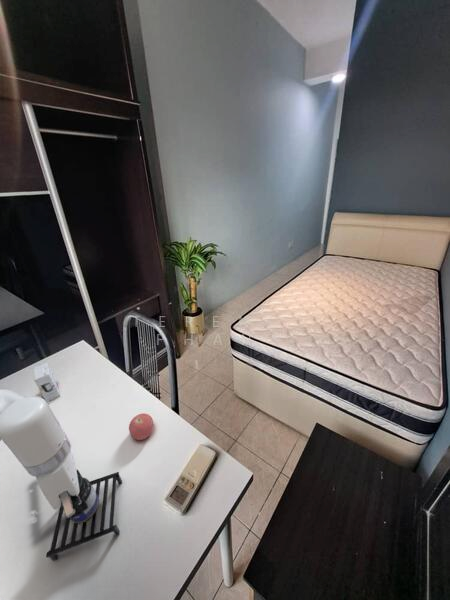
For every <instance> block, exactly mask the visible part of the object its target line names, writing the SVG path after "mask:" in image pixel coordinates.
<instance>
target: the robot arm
mask: <svg viewBox="0 0 450 600" xmlns="http://www.w3.org/2000/svg"><path fill="white" fill-rule="evenodd" d="M1 441H2V442H3V443H4V444H5V445H6V446H7V448H8V449H9V450H10V451H11V453H12V454H13V455H14V456H15V458H16V459H17V461H18V462H19V463H20V464H21V466H22V467H23V468H24V469H25V471H26V472H27V473H28V474H29V475H30V476H31V477H35V479H36V483H37V485H38V487H39V489H40V491H41V493H42V495H43V496H44V498H45V499H46V501H47V502H48V504H49V506H50V507H51V508H52V509H53V510H54V511H57V510H58V509H60V507H61V502H62V504H63V507H64V513H65V516H66V517H67V518H69V517H70V516H71V517H72V518H74V517H76V516H79V515H80V514H81V513H82V512H83V511H85V510H86V509H87V508H88V505H87V503H86V502H85V500H84V499H83V497H80V496H79V492H80V490H79V483H78V476H77V474H79V475H81V476H82V474H81V473H80V471H79V469H77V465H76V459H75V457H74V454H73V453H72V443H71V440H70V439H69V437H68V435H67V433H66V432H65V431H64V429H63V427H62V425H61V424H60V422H59V420H58V419H57V417H56V415H55V414H54V412H53V410H52V408H51V406H50V405H49V403H48V401H47V402H46V401H45V399H44V398H42V397H41V396H26V395H23V394H21V393H19V392H16V391H15V390H12V389H5V388H2V389H1V388H0V442H1ZM82 478H84V477H83V476H82ZM74 496H75V498H76V499H75V500H74V501H71V498H72V497H74Z"/></svg>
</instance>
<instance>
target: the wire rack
mask: <svg viewBox="0 0 450 600" xmlns="http://www.w3.org/2000/svg"><path fill="white" fill-rule="evenodd" d="M111 479H112V484H111V485H112V486H111V498H110V510H109V525H108V527H107V528H105V526H106V525H105V524H106V513H107V501H108V490H109V481H110V480H111ZM89 482H90V483H91V485H92V486H93V485H96V487H95V492H96V494H97V496H98V498H99V499H100V491H101V483H103V482H104V485H103V495H102V505H101V515H100V525H99V531H98V532H96V524H97V518H98V517H97V516H98V510H97V511H96V513H95V514H94V516H93V517H92V518H91V525H90V531H89V535H87V536H86V534H87V533H86V532H87V527H88V526H87V525H88V521H87V522H84V523H82V524H81V525H82V526H81V531H80V538H79V539H77V533H78V528H79V524H76V523H74V522H73V527H72V532H71V537H70V542H69V543H67V539H68V533H69V529H70V523H71V518H70V517H69V518H67V516H66V518H65V522H64V527H63V531H62V537H61V541H60V546H59V547H57V543H58V538H59V534H60V529H61V525H62V520H63V514H64V512H65V510H64V508H63V507H62V506H61V507H60V508H59V510H58V515H57V520H56V523H55V528H54V532H53V536H52V541H51V545H50V549H49V550H48V551H46V553H45V554H46V555H45V557H46V558H49V559H51V560H52V561H53V562H54V561H56V560H58V558H59V557H58V556H59V554H60V553H63V552H65V551H67V550H71V549H72V548H75V547H78V546H80V545H83V544H85V543H89V542H91V541H93V540H96V539H98V538H101V537H103V536H105V535H108V534H110V533H114V535H115V536H120V532H121V530H120V529H119V527H118V525H117V524H114V521H115V506H116V493H117V483H118V485H122V484H123V479H122V477H121V475H120V472H119V471H117V472H116V471H115V472H113V473H111V474H109V475H108V474H107V475H105V476H102V477H98V478H96V479H92V480H91V481H90V480H89Z"/></svg>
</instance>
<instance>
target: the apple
mask: <svg viewBox="0 0 450 600" xmlns="http://www.w3.org/2000/svg"><path fill="white" fill-rule="evenodd" d="M153 429H154V419H153V417H152V416H151V415H150V414H148V413H139V414H136V415H135V416H134V417H133V418H132V419H131V421H130V422H129V425H128V431H129V434H130V436H131V437H132V438H133V439H134V440H138V441H143V440H145V439H148V437H150V436H151V434H152V432H153Z"/></svg>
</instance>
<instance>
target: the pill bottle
mask: <svg viewBox="0 0 450 600" xmlns="http://www.w3.org/2000/svg"><path fill="white" fill-rule="evenodd" d="M77 476H78V483H79V490H80V492H79V496H80V497H83V499H84V500H85V502H86V503H87V505H88V508H87V509H86V510H85V511H83V512H82V513H81V514H80V515H79V516H76V517H74V518H72V517H71V516H70V520H71V521H72V522H73V524H74V523H76V524H78V525H83V523H84V522H87V523H88V522H89V521H90V520H92V517H93V516H94V514H95V513H96V511H97V512H98V509H99V507H100V497H99V498H98V496H97V494H96V489H95V488H94V487H93V485H91V483H90V480H89V479H88V478H86V477H83V476H82V474H81V475H79V474H77ZM82 477H83V478H82ZM75 499H76V498H75V496H74V497H72V498H71V501H74V500H75ZM61 506H62V507H63V504H62V502H61ZM63 508H64V507H63Z"/></svg>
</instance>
